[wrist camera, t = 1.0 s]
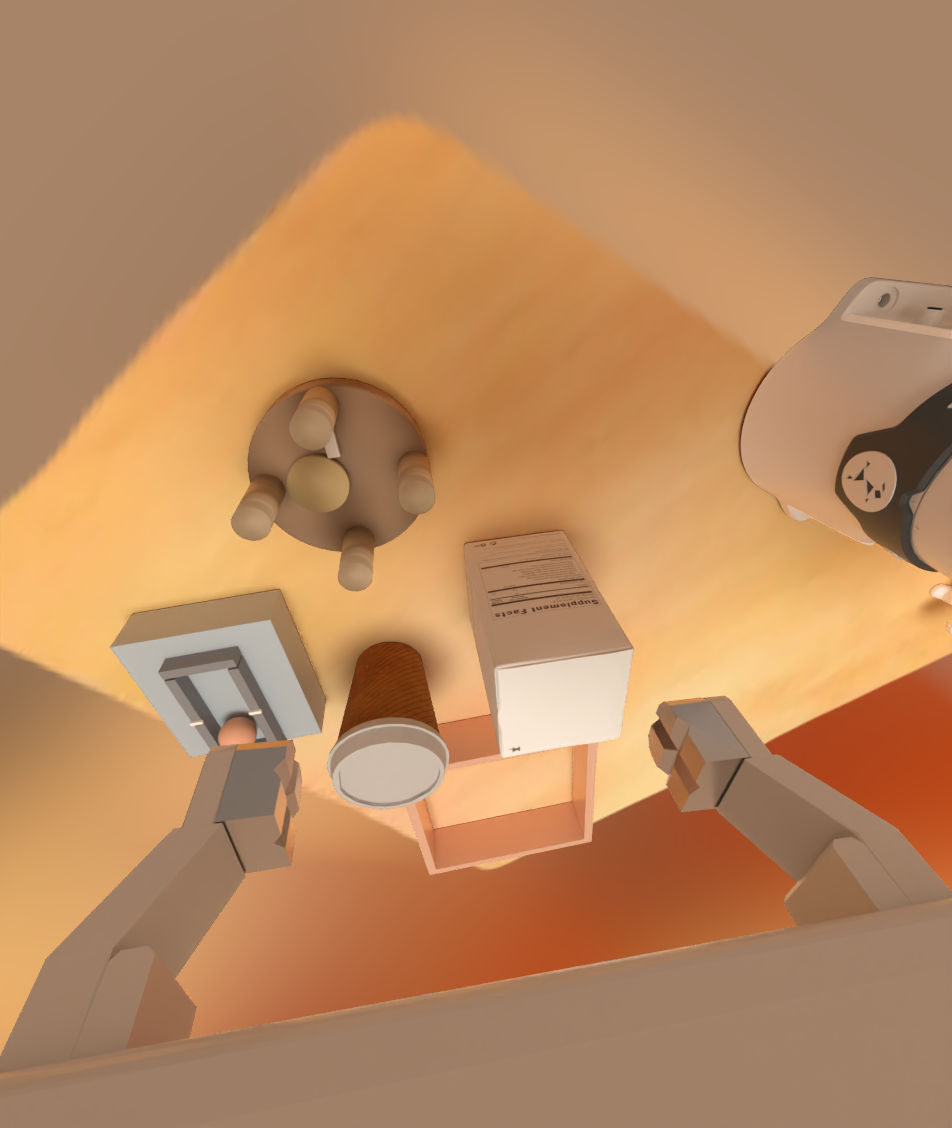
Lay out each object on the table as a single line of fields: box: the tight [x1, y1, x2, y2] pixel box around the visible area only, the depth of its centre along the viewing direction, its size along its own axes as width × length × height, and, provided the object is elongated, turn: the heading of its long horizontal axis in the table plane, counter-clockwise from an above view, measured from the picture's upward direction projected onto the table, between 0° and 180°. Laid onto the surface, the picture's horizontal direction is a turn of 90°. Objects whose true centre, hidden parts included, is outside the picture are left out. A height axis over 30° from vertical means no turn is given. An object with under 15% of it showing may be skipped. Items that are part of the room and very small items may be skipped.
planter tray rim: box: [406, 715, 597, 875], centre depth 58 cm, size 21×22×5 cm
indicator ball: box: [218, 717, 257, 746], centre depth 42 cm, size 3×3×3 cm
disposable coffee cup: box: [327, 642, 449, 809], centre depth 43 cm, size 10×10×12 cm
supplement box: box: [464, 530, 634, 758], centre depth 38 cm, size 9×9×15 cm
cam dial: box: [231, 378, 435, 591], centre depth 33 cm, size 12×12×8 cm
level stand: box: [110, 589, 326, 757], centre depth 42 cm, size 12×14×6 cm
